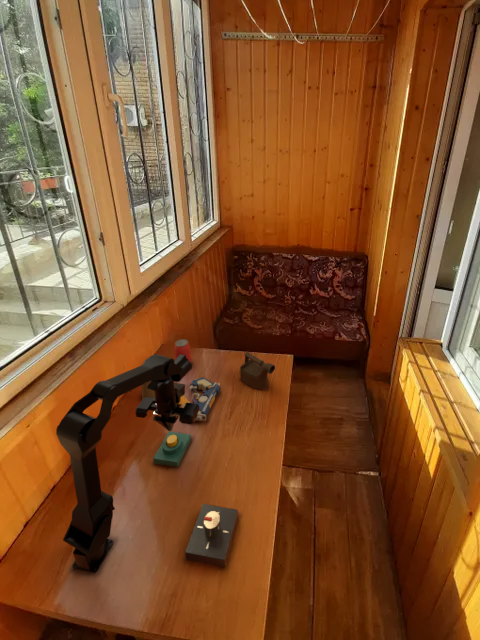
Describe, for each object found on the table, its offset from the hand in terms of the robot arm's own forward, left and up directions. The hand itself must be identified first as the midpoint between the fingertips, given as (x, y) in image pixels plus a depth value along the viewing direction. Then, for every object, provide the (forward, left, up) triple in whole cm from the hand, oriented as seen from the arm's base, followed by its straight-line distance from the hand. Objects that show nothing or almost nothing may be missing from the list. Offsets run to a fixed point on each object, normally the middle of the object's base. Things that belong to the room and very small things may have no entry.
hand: (170, 429), depth 100 cm
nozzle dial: (-21, -22, -6) cm, 31 cm away
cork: (+21, +21, -9) cm, 31 cm away
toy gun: (+21, +1, -9) cm, 23 cm away
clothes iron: (+35, -20, -9) cm, 41 cm away
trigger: (0, 0, -6) cm, 6 cm away
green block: (0, 0, -9) cm, 9 cm away
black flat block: (-21, -22, -9) cm, 32 cm away
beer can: (+41, +16, -9) cm, 45 cm away
